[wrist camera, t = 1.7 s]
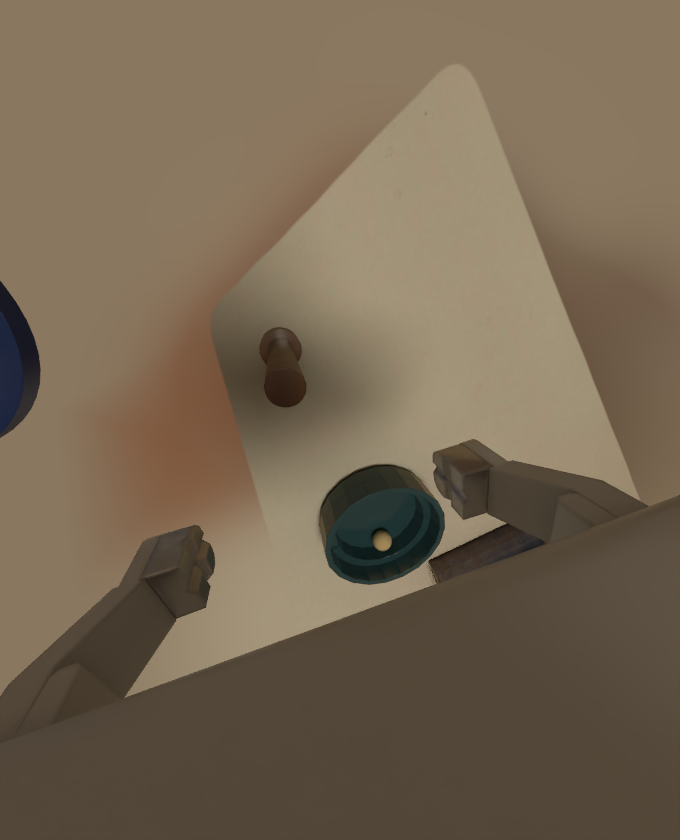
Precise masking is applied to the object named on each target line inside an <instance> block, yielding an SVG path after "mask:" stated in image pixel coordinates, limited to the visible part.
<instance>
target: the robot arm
mask: <svg viewBox="0 0 680 840" xmlns="http://www.w3.org/2000/svg"><path fill="white" fill-rule="evenodd" d="M433 463H434V464H435V465H436V466H437V467H436V469H435V471H434V481H435V483H436V486H437V488H438V490H439V492H440V493H441V494H442V496H443V497H444V498H447V499H449V500H451V506H452V507H453V508H454V510H455V511H456V512H457V513H458V514H459V515H460V517H461V518H462V519H463V520H465V519H468V518H471V517H474V516H478V515H481V514H484V513H487V514H489V515H491V516H493V517H495V518H497V519H499V520H501V521H504V522H506V523H508V524H510V525H512V526H514V527H516V528H518V529H520V530H522V531H525V532H527V533H529V534H531V535H533V536H535V537H537V538H539V539H541V540H543V541H545V542H548V543H547V544H545V545H542V546H539V547H536V548H534V549H531V550H528V551H525V552H523V553H520V554H517V555H515V556H512V557H509V558H506V559H504V560H501V561H498V562H495V563H493V564H490V565H487V566H484V567H482V568H479V569H476V570H473V571H471V572H468V573H465V574H463V575H460V576H457V577H454V578H452V579H449V580H446V581H443V582H441V583H438V584H435V585H433V586H430V587H427V588H424V589H422V590H419V591H416V592H413V593H411V594H408V595H405V596H402V597H400V598H397V599H394V600H392V601H389V602H386V603H383V604H381V605H378V606H375V607H372V608H370V609H367V610H364V611H361V612H359V613H356V614H353V615H350V616H348V617H345V618H342V619H339V620H337V621H334V622H331V623H328V624H326V625H323V626H320V627H317V628H315V629H312V630H309V631H307V632H304V633H301V634H298V635H296V636H293V637H290V638H287V639H285V640H282V641H279V642H277V643H274V644H271V645H268V646H265V647H263V648H260V649H257V650H255V651H252V652H249V653H246V654H244V655H241V656H238V657H235V658H233V659H230V660H227V661H224V662H222V663H219V664H216V665H214V666H211V667H208V668H205V669H202V670H200V671H197V672H194V673H192V674H189V675H186V676H183V677H181V678H178V679H175V680H172V681H170V682H167V683H164V684H161V685H159V686H156V687H153V688H150V689H148V690H145V691H142V692H140V693H137V694H134V695H131V696H129V697H126V698H124V697H125V696H126V694H127V693H128V691H129V690H130V688H131V687H132V685H133V684H134V682H135V681H136V679H137V678H138V676H139V675H140V673H141V672H142V671H143V669H144V668H145V666H146V664H147V663H148V661H149V660H150V658H151V657H152V656H153V654H154V653H155V651H156V649H157V648H158V647H159V645H160V644H161V642H162V641H163V639H164V638H165V636H166V635H167V633H168V632H169V630H170V629H171V628H172V626H173V625H174V623H175V622H176V619H177V618H179V617H182V616H185V615H187V614H190V613H193V612H195V611H198V610H201V609H203V608H206V604H207V600H208V595H209V590H210V585H209V583H208V582H207V580H208V579H209V578H210V577H211V575H212V574H213V572H214V567H215V557H214V552H213V549H212V547H211V545H210V543H208V542H206V541H204V540H202V537H203V534H204V533H203V531H202V530H201V528H200V527H199V526H197V525H193V526H189V527H186V528H182V529H179V530H175V531H172V532H168V533H165V534H162V535H158V536H155V537H151V538H148V539H146V540H145V541H143V542H142V544H141V546H140V548H139V549H138V551H137V553H136V555H135V557H134V559H133V561H132V563H131V564H130V566H129V568H128V570H127V572H126V574H125V576H124V577H123V580H122V581H121V583H120V585H119V587H117V588H114V589H112V590H111V591H110V592H109V593H107V594H106V595H105V596H104V597H103V598H102V599H101V600H100V601H99V602H98V603H97V604H96V605H94V606H93V607H92V608H91V609H90V610H89V611H88V612H87V613H86V614H85V615H84V616H82V617H81V618H80V619H79V620H78V621H77V622H76V623H75V624H74V625H73V626H72V627H71V628H69V629H68V630H67V631H66V632H65V633H64V634H63V635H62V636H61V637H60V638H59V639H57V640H56V641H55V642H54V643H53V644H52V645H51V646H50V647H49V648H48V649H47V650H45V651H44V652H43V654H41V655H40V656H39V657H38V658H37V659H36V660H35V661H34V662H32V663H31V664H30V665H29V666H28V667H27V668H26V669H25V670H24V671H23V672H22V673H21V674H19V675H18V676H17V677H16V678H15V679H14V680H13V681H12V682H11V683H10V684H9V685H8V686H7V688H6V689H5V690H4V692H3V693H2V695H1V696H0V840H680V495H679V496H676V497H674V498H671V499H668V500H665V501H663V502H660V503H657V504H654V505H652V506H648V505H646V504H644V503H642V502H640V501H639V500H637V499H635V498H633V497H631V496H630V495H628V494H626V493H624V492H622V491H620V490H619V489H617V488H615V487H613V486H611V485H610V484H608V483H606V482H604V481H602V480H598V479H593V478H589V477H585V476H580V475H576V474H571V473H567V472H562V471H558V470H553V469H549V468H544V467H540V466H535V465H531V464H526V463H522V462H517V461H513V460H512V461H509V462H508V461H506V460H505V459H504V458H502V457H501V456H499V455H498V454H496V453H495V452H493V451H492V450H491V449H489V448H488V447H486V446H485V445H483V444H482V443H480V442H479V441H477V440H475V439H471V440H468V441H466V442H463V443H460V444H458V445H455V446H452V447H448V448H445V449H442V450H439V451H435V452H434V453H433Z"/></svg>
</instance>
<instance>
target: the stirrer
mask: <svg viewBox="0 0 680 840" xmlns="http://www.w3.org/2000/svg"><path fill="white" fill-rule="evenodd" d="M260 354H261V357H262V359H263V361H264V362H265V363H266V364H267V366H266V375H265V383H264V391H265V394H266V396H267V398H268V399H269V401H270V402H272V403H273V404H274V405H276V406H279V407H292V406H295V405H296V404H298V403H299V402H300V401H301V400H302V399H303V398H304V396H305V393H306V382H305V379H304V377H303V374H302V371H301V369H300V366H299V363H298V361H299V359H300V357H301V344H300V342H299V340H298V338H297V337H296V335H295V334H294V333H293V332H292V331H290V330H289V329H286V328H282V327H276V328H272V329H270V330H269V331H267V332H266V333H265V334H264V336H263V338H262V340H261V343H260Z"/></svg>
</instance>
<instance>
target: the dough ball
mask: <svg viewBox="0 0 680 840" xmlns="http://www.w3.org/2000/svg"><path fill="white" fill-rule="evenodd" d="M391 543H392V539H391V536H390V534H389V533H388V532H386V531H384V530H380V531H377V532H376V533H375V534H374V536H373V544H374V546H375V547H376V548H377V549H378V550H381V551H385V550H387V549H389V548H390V546H391Z"/></svg>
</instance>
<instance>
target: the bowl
mask: <svg viewBox="0 0 680 840" xmlns="http://www.w3.org/2000/svg"><path fill="white" fill-rule="evenodd" d="M444 529H445V521H444V512H443V510H442V508H441V507H440V505H439V503H438V501H437V500H436V499H435V497H434V496H433V495H432V494H431V492H430V491H429V490H428V489H427V487H426V486H425V485H424V484H423V482H422V481H421V480H420V479H419V478H417V477H416V476H415V475H414V474H412V473H411V472H410V471H407V470H404V469H401V468H397V467H374V468H371V469H367V470H364V471H361V472H358V473H356V474H354V475H353V476H351V477H349V478H348V479H346V480H344V481H343V482H341V483H340V484H339V485H338V486H337V487H336V488H335V489H334V490H333V492H332V493H331V494H330V495H329V496H328V498H327V500H326V502H325V504H324V506H323V508H322V510H321V516H320V531H321V536H322V541H323V546H324V551H325V555H326V558H327V561H328V564H329V567H330V568H331V569H332V570H333V571H334V572H335V573H336V574H337V575H338V576H339V577H341V578H343V579H345V580H348V581H350V582H353V583H359V584H367V585H368V584H369V585H370V584H378V583H386V582H389V581H392V580H395V579H397V578H400V577H403V576H405V575H406V574H408V573H410V572H411V571H413V570H415V569H416V568H418V567H419V566H420V565H421V564H422V563H424V562H425V561H426V560H427V559H428V558H429V557H430V556H431V555H432V554H433V552H434V551H435V549H436V548H437V546H438V545H439V543H440V541H441V538H442V535H443V532H444ZM380 530H384V531H386V532H388V533H389V534H390V536H391V539H392V543H391V546H390V548H389V549H387V550H385V551H381V550H378V549H377V548H376V547H375V546H374V544H373V536H374V534H375V533H376V532H377V531H380Z"/></svg>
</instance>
